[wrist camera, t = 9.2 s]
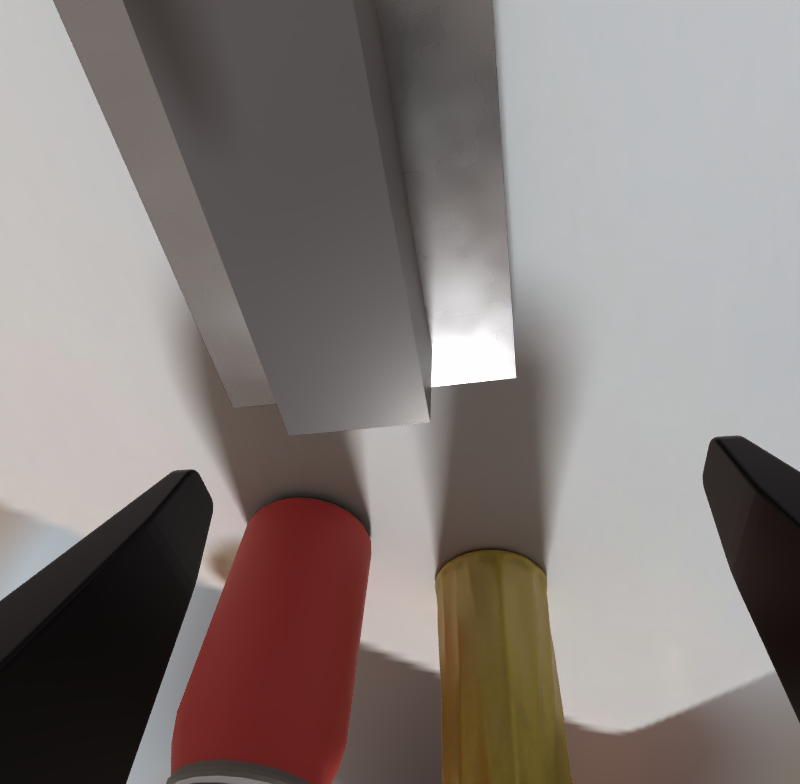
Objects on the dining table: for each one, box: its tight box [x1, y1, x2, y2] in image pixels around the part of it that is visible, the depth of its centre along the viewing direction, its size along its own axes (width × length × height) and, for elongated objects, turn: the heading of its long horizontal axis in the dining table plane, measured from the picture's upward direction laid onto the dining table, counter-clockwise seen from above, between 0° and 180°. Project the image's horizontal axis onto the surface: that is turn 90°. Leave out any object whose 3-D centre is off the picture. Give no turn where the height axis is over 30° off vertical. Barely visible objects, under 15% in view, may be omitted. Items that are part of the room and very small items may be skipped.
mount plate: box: [53, 0, 516, 408], centre depth 17 cm, size 11×16×2 cm
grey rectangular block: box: [123, 0, 432, 436], centre depth 15 cm, size 13×4×6 cm, turn 10°
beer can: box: [167, 497, 371, 784], centre depth 24 cm, size 7×7×12 cm
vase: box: [435, 550, 572, 784], centre depth 24 cm, size 6×6×14 cm
